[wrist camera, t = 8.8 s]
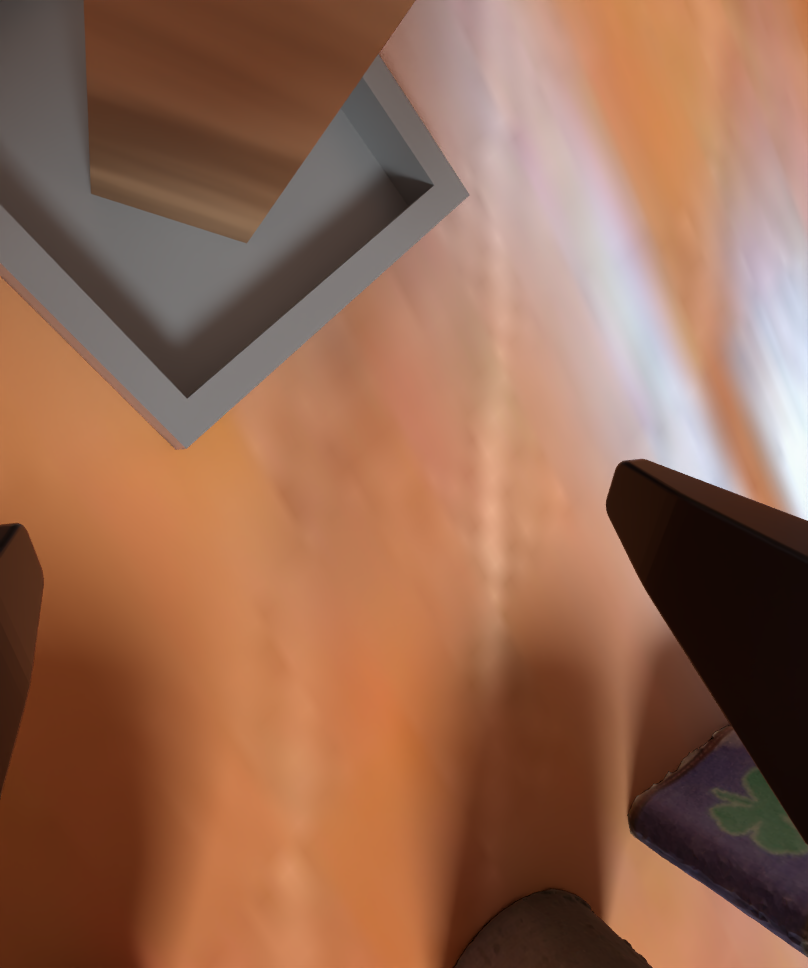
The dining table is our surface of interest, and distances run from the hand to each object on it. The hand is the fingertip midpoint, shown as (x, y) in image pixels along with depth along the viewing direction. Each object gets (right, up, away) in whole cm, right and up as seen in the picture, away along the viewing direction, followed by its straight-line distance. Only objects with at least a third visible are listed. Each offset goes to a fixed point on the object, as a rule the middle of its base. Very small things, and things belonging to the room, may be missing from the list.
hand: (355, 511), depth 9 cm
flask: (+16, -15, +23) cm, 32 cm away
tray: (-6, +11, +10) cm, 16 cm away
